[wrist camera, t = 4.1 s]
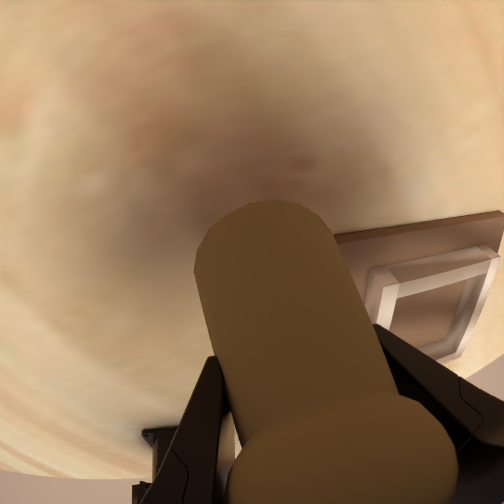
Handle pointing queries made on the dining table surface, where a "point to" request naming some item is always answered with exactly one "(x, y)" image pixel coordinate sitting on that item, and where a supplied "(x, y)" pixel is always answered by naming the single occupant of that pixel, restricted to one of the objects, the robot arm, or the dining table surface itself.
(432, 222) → the socket board
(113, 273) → the dining table surface
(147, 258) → the dining table surface
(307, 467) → the cork
